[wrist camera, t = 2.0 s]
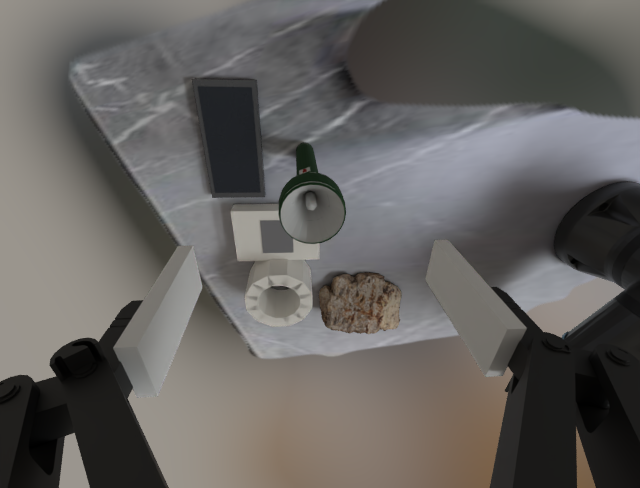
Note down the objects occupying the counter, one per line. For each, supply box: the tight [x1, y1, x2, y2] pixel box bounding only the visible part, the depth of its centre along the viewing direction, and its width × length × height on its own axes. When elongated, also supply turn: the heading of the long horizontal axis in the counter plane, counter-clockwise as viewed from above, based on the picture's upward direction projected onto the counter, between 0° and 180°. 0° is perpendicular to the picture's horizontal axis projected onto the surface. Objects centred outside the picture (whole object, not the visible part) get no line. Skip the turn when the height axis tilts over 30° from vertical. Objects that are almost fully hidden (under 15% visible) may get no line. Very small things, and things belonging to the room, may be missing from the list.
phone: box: [192, 79, 265, 198], centre depth 38 cm, size 7×14×1 cm, turn 179°
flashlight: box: [279, 143, 346, 244], centre depth 31 cm, size 5×5×20 cm
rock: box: [319, 272, 402, 334], centre depth 50 cm, size 15×10×6 cm
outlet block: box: [231, 204, 320, 327], centre depth 44 cm, size 12×17×6 cm
